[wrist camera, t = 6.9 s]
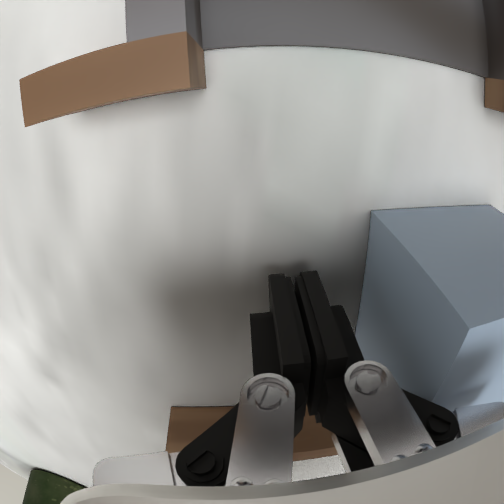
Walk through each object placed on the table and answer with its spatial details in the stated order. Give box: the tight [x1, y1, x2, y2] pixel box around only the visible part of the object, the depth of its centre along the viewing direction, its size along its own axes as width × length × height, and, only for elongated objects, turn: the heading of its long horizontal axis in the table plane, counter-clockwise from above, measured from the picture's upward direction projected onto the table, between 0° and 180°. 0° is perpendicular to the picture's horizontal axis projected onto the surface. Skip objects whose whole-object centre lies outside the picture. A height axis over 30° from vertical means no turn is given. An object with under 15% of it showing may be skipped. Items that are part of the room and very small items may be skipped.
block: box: [355, 205, 504, 411], centre depth 9 cm, size 6×6×6 cm
